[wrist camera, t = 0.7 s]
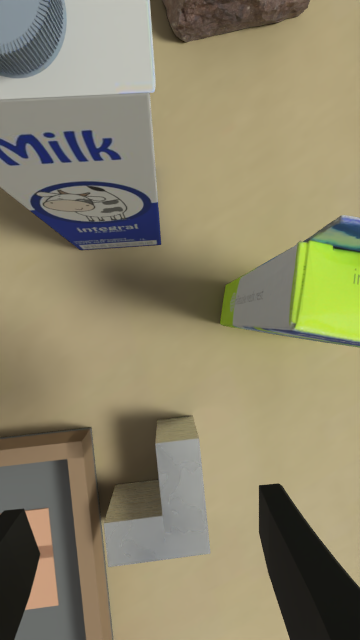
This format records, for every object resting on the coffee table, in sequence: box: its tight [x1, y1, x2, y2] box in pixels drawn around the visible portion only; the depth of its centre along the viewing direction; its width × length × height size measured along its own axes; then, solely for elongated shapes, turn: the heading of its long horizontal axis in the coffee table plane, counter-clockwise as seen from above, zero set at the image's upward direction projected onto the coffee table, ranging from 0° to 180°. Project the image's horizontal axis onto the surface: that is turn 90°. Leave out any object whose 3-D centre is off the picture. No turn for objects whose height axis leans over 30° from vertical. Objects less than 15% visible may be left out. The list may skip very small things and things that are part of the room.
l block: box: [104, 416, 210, 567], centre depth 24 cm, size 8×7×5 cm
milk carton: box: [0, 0, 161, 250], centre depth 16 cm, size 7×7×20 cm
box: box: [220, 215, 360, 347], centre depth 18 cm, size 10×4×17 cm, turn 82°
